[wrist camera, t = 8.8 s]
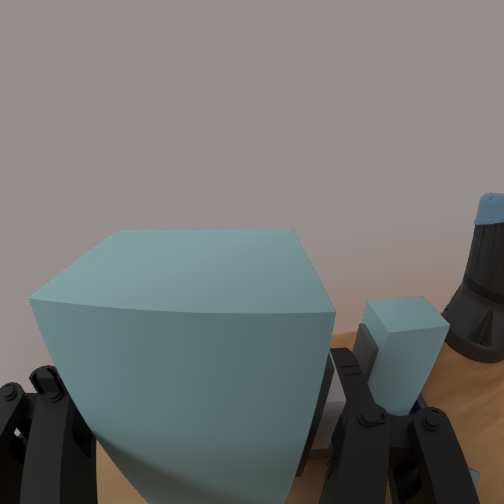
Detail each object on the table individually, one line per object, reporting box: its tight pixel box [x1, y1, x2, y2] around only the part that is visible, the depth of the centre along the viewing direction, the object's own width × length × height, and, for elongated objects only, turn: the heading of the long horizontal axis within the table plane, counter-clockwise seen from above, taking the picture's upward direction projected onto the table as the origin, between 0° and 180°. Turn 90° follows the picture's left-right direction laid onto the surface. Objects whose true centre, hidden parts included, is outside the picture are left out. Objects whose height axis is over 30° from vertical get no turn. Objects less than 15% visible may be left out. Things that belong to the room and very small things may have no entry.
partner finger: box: [352, 296, 450, 416], centre depth 22 cm, size 6×5×11 cm
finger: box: [29, 229, 336, 504], centre depth 9 cm, size 6×5×11 cm
